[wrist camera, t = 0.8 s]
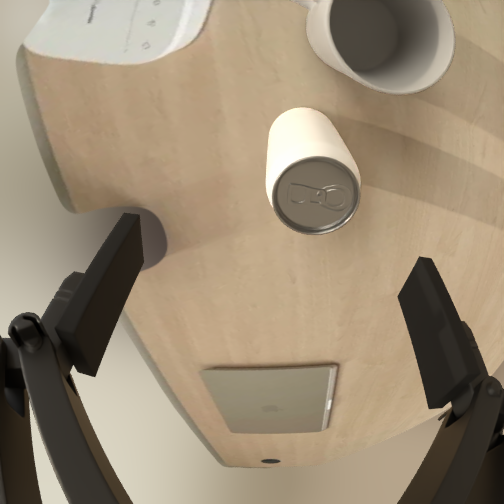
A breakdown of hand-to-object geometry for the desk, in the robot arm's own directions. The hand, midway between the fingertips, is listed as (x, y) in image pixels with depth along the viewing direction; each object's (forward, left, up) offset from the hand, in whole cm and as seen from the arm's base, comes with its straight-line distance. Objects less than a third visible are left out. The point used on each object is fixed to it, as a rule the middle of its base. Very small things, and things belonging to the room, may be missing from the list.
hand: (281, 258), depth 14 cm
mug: (-12, +3, -19) cm, 22 cm away
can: (0, +2, -19) cm, 19 cm away
